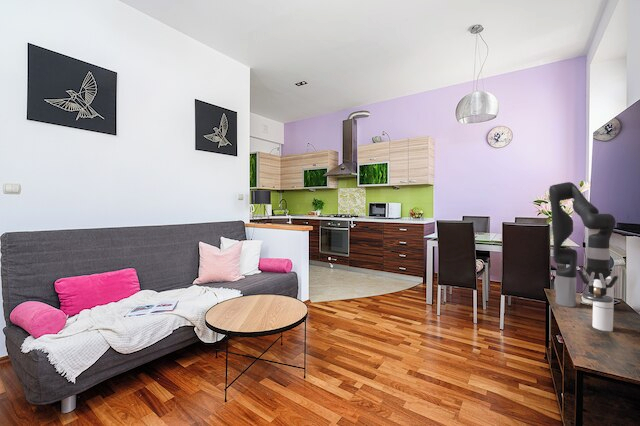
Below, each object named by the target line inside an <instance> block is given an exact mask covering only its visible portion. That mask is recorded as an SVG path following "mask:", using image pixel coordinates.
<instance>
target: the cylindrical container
mask: <svg viewBox="0 0 640 426" xmlns="http://www.w3.org/2000/svg"><path fill="white" fill-rule="evenodd" d="M611 280H612V279H611V276H608V277H607V278H606V283H607V284H609V283H610V282H611ZM593 286H594V287H601V288H602V283H601V281H600V280H598V279H595V280H594V283H593ZM614 291H615V284H614V285H613V286H612V287H611V288H607V294H606V296H609V297H612V298H613V302H610V303H604V302H596V301H592V324H591V325H592V327H593V328H594V329H596V330H599V331H602V332H613V331H614V307H615V306H614V305H615V304H614V303H615V301H614V298H615V292H614Z"/></svg>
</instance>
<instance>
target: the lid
mask: <svg viewBox="0 0 640 426" xmlns="http://www.w3.org/2000/svg"><path fill="white" fill-rule="evenodd" d="M601 291H602V288H601V287H593V294H590V292H583V293H582V298H583V299H585V300H588V301H592V302H593V301H596V302H604V303H610V302H613V298H612V297H609V296H606V295H604V296H601Z"/></svg>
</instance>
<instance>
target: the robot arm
mask: <svg viewBox="0 0 640 426" xmlns="http://www.w3.org/2000/svg"><path fill="white" fill-rule="evenodd" d="M548 194H549V201H550V207H551V226H552V228H551V229H552V235H553V236H552V239H553V246H552V247H553V248H552V249H553V252H552V253H553V254H552V256H553V262H554V263H555V264H559V265H560V264H561V265H567V266H568V265H569V266H568V267H564V268H559V269H556V272H555V304H557V305H558V306H562V307H568V308H574V307H576V306H577V266H578V251H577V250H576V249H574V248H573V249H571V248H561V247H562V245H563V243H564V242H565V241H566V240H567V239H569V237H570V236H572V234H573V232H574V221H573V218H572V217H571V215H570V214H568V213H567V212H566V211H565V210H564V209H563V208H562V207H561V206H562V205H561V201H566V200H571V199H573V202H572V209H573V211H574V213H575V214H577V215H578V216H579V217H580V218H581V221H582V223H583V226H584V227H586V228H587V229H590V230H599V231H598V232H597V233H593V234H590V235H588V238H587V240H588V241H587V252H586V253H587V254H586V269H584V270H583V269H581V270H578V274H579V276H580V278H581V280H582V282H583V284H586V285H587V286H588V293H590V294H593V287H594V286H593V283H594V280H595V279H598V280H600V281H601V283H602V291H601V296H604V295H606V294H607V288H611V287H612V286H613V285H614V286H615V284H616V282H617V281H618V279H619V275H618V274H614V273H612V272H611V269H610V268H611V267H610V265H611V263H610V262H611V251H610V239H611V237H612V234H613V232H614V229H615V227H616V221H617V220H616V217H614V216H613V214H611V213H600V212H599V209H598V208H597V207H596V206H595V205H593V204H592V203H591V202H590V201H588V199H586V197H585V196H584V194H583V193H582V192H581V191H580V189H579V188H578V187H577V185H575V183H573V182H570V181H568V182H567V181H566V182H561V183H557V184H552V185H550V186H549V187H548ZM586 274H587V275H588V276H589V280H588V279H587V276H586ZM608 276H610V277H611V279H612V280H611V282H610V283H609V284H607V283H606V278H607V277H608Z"/></svg>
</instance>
